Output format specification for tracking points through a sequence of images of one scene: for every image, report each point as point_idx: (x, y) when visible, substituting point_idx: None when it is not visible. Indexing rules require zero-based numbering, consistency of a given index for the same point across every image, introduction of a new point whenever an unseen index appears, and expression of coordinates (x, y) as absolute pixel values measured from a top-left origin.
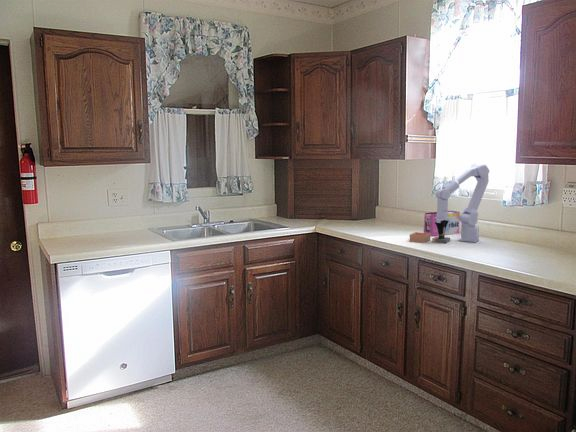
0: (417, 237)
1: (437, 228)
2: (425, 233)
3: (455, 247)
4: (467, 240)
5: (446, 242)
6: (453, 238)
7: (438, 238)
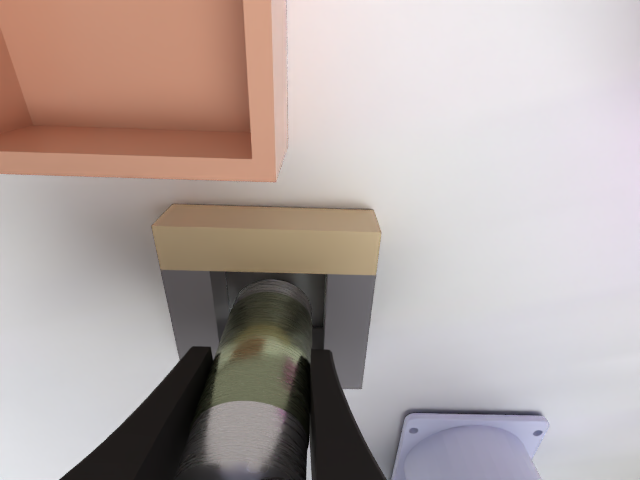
0: None
1: (115, 430)
2: (247, 65)
3: (69, 437)
4: (404, 471)
5: None
6: (547, 350)
7: (253, 286)
